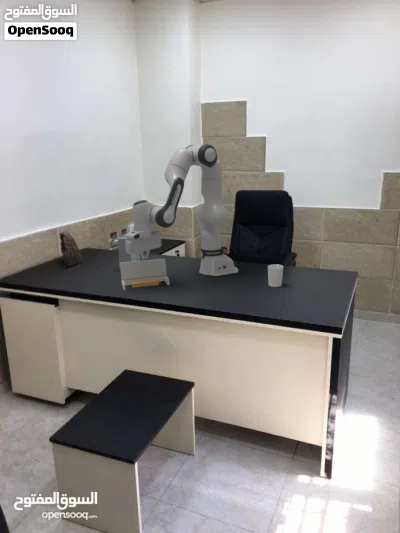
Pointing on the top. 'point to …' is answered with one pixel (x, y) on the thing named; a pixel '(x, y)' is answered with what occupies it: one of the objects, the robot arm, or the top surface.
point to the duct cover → (143, 268)
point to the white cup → (275, 275)
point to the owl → (70, 249)
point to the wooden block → (145, 283)
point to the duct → (161, 278)
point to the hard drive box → (123, 254)
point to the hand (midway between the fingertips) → (145, 259)
